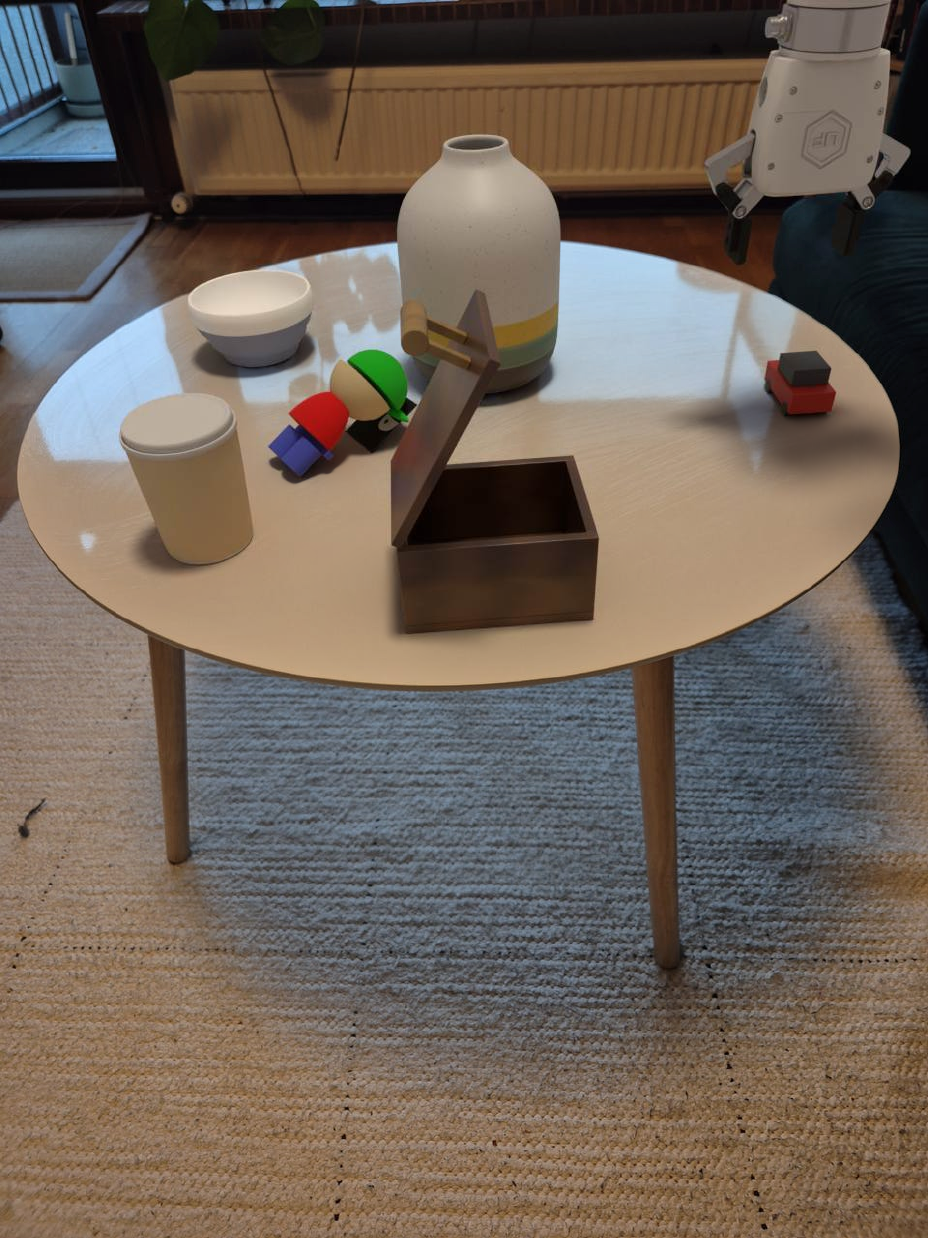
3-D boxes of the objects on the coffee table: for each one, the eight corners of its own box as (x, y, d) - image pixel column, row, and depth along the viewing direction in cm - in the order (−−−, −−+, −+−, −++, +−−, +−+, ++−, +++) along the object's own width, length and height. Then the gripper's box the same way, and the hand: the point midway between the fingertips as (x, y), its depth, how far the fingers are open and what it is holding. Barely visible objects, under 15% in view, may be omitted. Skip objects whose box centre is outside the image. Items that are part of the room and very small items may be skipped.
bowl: (218, 330, 115) (204, 270, 110) (329, 327, 114) (320, 267, 109) (187, 381, 104) (170, 318, 99) (310, 378, 103) (299, 314, 98)
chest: (570, 532, 78) (573, 454, 73) (593, 619, 69) (599, 537, 64) (403, 545, 77) (395, 467, 72) (406, 633, 69) (396, 552, 63)
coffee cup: (218, 498, 84) (187, 380, 76) (284, 532, 80) (258, 410, 72) (135, 545, 79) (92, 424, 71) (200, 584, 74) (162, 459, 66)
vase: (516, 332, 110) (516, 113, 94) (583, 387, 98) (595, 148, 82) (388, 360, 105) (365, 136, 90) (442, 422, 94) (426, 175, 78)
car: (831, 417, 91) (842, 374, 88) (786, 420, 91) (796, 378, 88) (803, 382, 97) (812, 341, 94) (761, 385, 97) (769, 344, 94)
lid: (485, 292, 63) (413, 259, 62) (501, 363, 55) (418, 326, 53) (399, 464, 72) (334, 439, 70) (401, 549, 63) (326, 523, 61)
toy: (334, 509, 88) (437, 400, 88) (285, 463, 82) (396, 346, 82) (296, 473, 94) (394, 370, 94) (248, 427, 88) (352, 318, 88)
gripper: (738, 46, 66) (706, 278, 77) (965, 31, 66) (900, 263, 78) (708, 30, 71) (682, 248, 83) (917, 16, 72) (863, 234, 83)
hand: (788, 255), depth 80 cm, fingers open, 9 cm apart
